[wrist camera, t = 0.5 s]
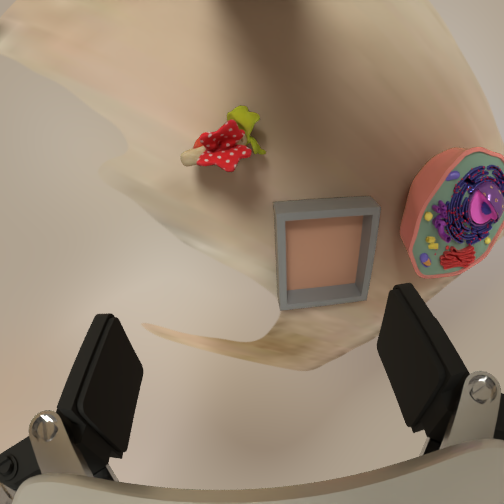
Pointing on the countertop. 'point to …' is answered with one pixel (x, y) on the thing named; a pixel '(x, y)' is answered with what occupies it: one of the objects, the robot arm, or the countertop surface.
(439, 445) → the robot arm
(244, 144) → the bird rattle
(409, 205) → the cell model
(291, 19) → the countertop surface
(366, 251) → the grey picture frame
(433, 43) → the countertop surface
